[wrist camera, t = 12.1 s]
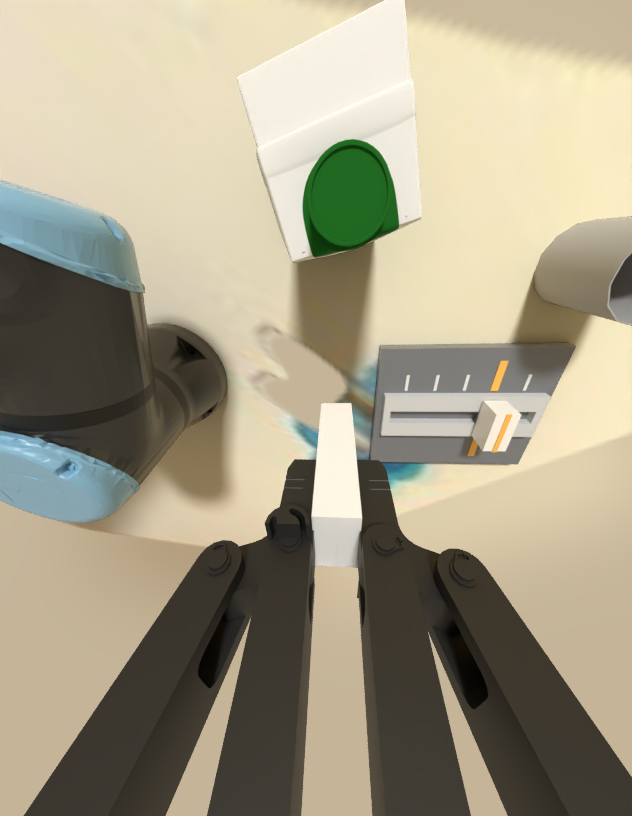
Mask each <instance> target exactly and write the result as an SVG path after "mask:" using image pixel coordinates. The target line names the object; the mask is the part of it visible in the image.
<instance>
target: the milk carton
mask: <svg viewBox="0 0 632 816" xmlns="http://www.w3.org/2000/svg"><path fill="white" fill-rule="evenodd" d="M237 81H238V85H239V88H240V91H241V95H242V98H243V102H244V105H245V108H246V112H247V115H248V118H249V121H250V125H251V128H252V131H253V135H254V138H255V141H256V145H257V148H258V149H257V150H256V154H257V160H258V164H259V167H260V170H261V174H262V177H263V180H264V183H265V186H266V188H267V191H268V194H269V197H270V200H271V204H272V207H273V210H274V213H275V216H276V219H277V223H278V226H279V229H280V232H281V234H282V237H283V240H284V243H285V245H286V248H287V251H288V253H289V256H290V258H291V260H292V261H293V262H294V263H295V262H300V261H305V260H310V259H315V258H320V257H325V256H330V255H335V254H339V253H343V252H347V251H350V250H353V249H356V248H359V247H361V246H363V245H365V244H368V243H370V242H372V241H375V240H377V239H379V238H381V237H383V236H385V235H387V234H389V233H391V232H394V231H396V230H398V229H400V228H402V227H404V226H406V225H409V224H411V223H413V222H415V221H417V220H419V219H420V218H421V216H422V207H421V191H420V176H419V161H418V146H417V131H416V104H415V90H414V81H413V79H411V76H410V63H409V50H408V37H407V24H406V12H405V0H384V1H383V2H381V3H379V4H377V5H375V6H373V7H371V8H369V9H367V10H365V11H363V12H361V13H359V14H358V15H356V16H354V17H352V18H350V19H348V20H346V21H344V22H342V23H340V24H338V25H336V26H334V27H332V28H331V29H329V30H327V31H325V32H323V33H321V34H319V35H317V36H315V37H313V38H311V39H309V40H307V41H306V42H304V43H302V44H300V45H298V46H296V47H294V48H292V49H290V50H288V51H286V52H284V53H282V54H280V55H279V56H277V57H275V58H273V59H271V60H269V61H267V62H265V63H263V64H261V65H259V66H257V67H255V68H254V69H252V70H250V71H248V72H246V73H244V74H242V75H240V76H238V77H237Z"/></svg>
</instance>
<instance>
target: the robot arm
mask: <svg viewBox="0 0 632 816" xmlns="http://www.w3.org/2000/svg"><path fill="white" fill-rule="evenodd" d="M143 293H145V287H144V285H143V284H142V283H141V279H140V274H139V269H138V264H137V259H136V254H135V249H134V245H133V242H132V240H131V237H130V236H129V234H128V233H127V231H126V230H125V229H124V228H123V226H122V225H121V224H119V223H118V222H117V221H116V220H114V219H113V218H111V217H110V216H108V215H106V214H104V213H101V212H98V211H96V210H93V209H90V208H87V207H84V206H81V205H78V204H75V203H72V202H69V201H66V200H63V199H60V198H57V197H54V196H50V195H47V194H44V193H41V192H38V191H34V190H31V189H28V188H25V187H22V186H19V185H16V184H12V183H9V182H6V181H3V180H0V501H2V502H4V503H7V504H9V505H11V506H13V507H16V508H18V509H21V510H23V511H26V512H29V513H32V514H35V515H38V516H42V517H46V518H49V519H54V520H59V521H66V522H77V523H84V522H93V521H98V520H100V519H103V518H105V517H108V516H110V515H112V514H113V513H115V512H116V511H117V510H118V509H119V508H120V507H121V506H122V505H123V504H124V503H125V502H126V501H127V500H128V499H129V498H130V497H131V496H132V495H133V494H134V493H136V492H137V491H138V489H139V488H140V484H141V483H142V482H143V481H144V479H145V478H146V477H147V476H148V474H149V473H150V472H151V471H152V469H153V468H154V467H155V465H156V464H157V463H158V462H159V460H160V459H161V458H162V457H163V455H164V454H165V453H166V452H167V450H168V449H169V448H170V447H171V445H172V444H173V443H174V442H175V440H176V439H177V438H178V437H179V435H180V434H181V433H182V432H183V430H184V429H185V428H187V427H189V426H191V425H193V424H195V423H197V422H199V421H201V420H203V419H205V418H206V417H208V416H209V415H211V414H212V413H213V412H214V411H215V410H216V408H217V407H218V406H219V404H220V403H221V401H222V400H223V398H224V396H225V393H226V388H227V379H226V373H225V370H224V367H223V365H222V363H221V361H220V359H219V357H218V356H217V354H216V353H215V351H214V350H213V349H212V348H211V347H210V346H209V345H208V344H207V343H206V342H205V341H204V340H203V339H201V338H200V337H199V336H197V335H196V334H194V333H193V332H191V331H189V330H187V329H184V328H182V327H179V326H175V325H171V324H152V325H148V326H147V321H146V314H145V306H144V298H143ZM265 526H266V531H267V536H266V537H264V538H263V539H261V540H259V541H256V542H253V543H250V544H246V545H243V546H238V545H237V544H236V543H234V542H232V541H225V540H223V541H219V542H215V543H213V544H212V545H210V546H209V547H207V548H206V549H205V550H204V551H203V552H202V553H201V554H200V556H199V557H198V559H197V560H196V562H195V563H194V564H193V566H192V567H191V569H190V570H189V572H188V573H187V575H186V576H185V578H184V579H183V581H182V582H181V584H180V585H179V587H178V588H177V590H176V591H175V593H174V594H173V596H172V597H171V598H170V600H169V601H168V603H167V605H166V606H165V607H164V609H163V610H162V612H161V613H160V615H159V616H158V618H157V619H156V621H155V622H154V624H153V625H152V627H151V628H150V630H149V631H148V632H147V634H146V635H145V637H144V638H143V640H142V641H141V643H140V644H139V646H138V647H137V649H136V650H135V652H134V653H133V655H132V656H131V658H130V659H129V661H128V662H127V664H126V665H125V667H124V668H123V670H122V671H121V673H120V674H119V675H118V677H117V679H116V680H115V681H114V683H113V684H112V686H111V687H110V689H109V690H108V692H107V693H106V695H105V696H104V698H103V699H102V701H101V702H100V704H99V705H98V707H97V708H96V710H95V711H94V712H93V714H92V716H91V717H90V718H89V720H88V721H87V723H86V724H85V726H84V727H83V729H82V730H81V732H80V733H79V735H78V736H77V738H76V739H75V741H74V742H73V744H72V745H71V747H70V748H69V750H68V751H67V752H66V754H65V755H64V757H63V758H62V760H61V762H60V763H59V764H58V766H57V767H56V769H55V770H54V772H53V773H52V775H51V776H50V778H49V779H48V781H47V782H46V784H45V785H44V786H43V788H42V790H41V791H40V792H39V794H38V796H37V797H36V798H35V800H34V801H33V803H32V804H31V806H30V807H29V809H28V810H27V812H26V813H25V815H24V816H165V815H166V813H167V811H168V808H169V806H170V804H171V801H172V799H173V797H174V794H175V792H176V790H177V787H178V785H179V783H180V780H181V778H182V776H183V773H184V771H185V769H186V766H187V764H188V762H189V760H190V757H191V755H192V753H193V750H194V748H195V746H196V743H197V741H198V739H199V736H200V734H201V731H202V729H203V727H204V725H205V722H206V720H207V718H208V715H209V713H210V710H211V708H212V706H213V704H214V701H215V699H216V697H217V694H218V692H219V690H220V687H221V685H222V683H223V680H224V678H225V676H226V674H227V671H228V669H229V666H230V664H231V662H232V659H233V657H234V655H235V652H236V650H237V648H238V645H239V643H240V641H241V639H242V636H243V634H244V632H245V629H246V627H247V625H248V622H249V620H250V618H251V621H250V625H249V630H248V634H247V639H246V643H245V648H244V652H243V657H242V661H241V666H240V670H239V675H238V679H237V684H236V688H235V693H234V697H233V702H232V706H231V711H230V715H229V720H228V724H227V729H226V733H225V738H224V742H223V746H222V751H221V756H220V760H219V764H218V769H217V773H216V778H215V783H214V787H213V791H212V796H211V801H210V805H209V809H208V814H207V816H301V808H302V790H303V774H304V757H305V739H306V723H307V706H308V689H309V672H310V655H311V638H312V621H313V603H314V587H315V585H314V570H315V566H332V567H356V568H358V571H359V584H358V594H357V598H359V607H360V624H361V639H362V656H363V670H364V686H365V703H366V719H367V735H368V751H369V767H370V782H371V798H372V814H373V816H471V814H470V810H469V806H468V802H467V797H466V793H465V789H464V784H463V780H462V776H461V771H460V767H459V763H458V759H457V755H456V750H455V746H454V742H453V737H452V733H451V729H450V724H449V720H448V716H447V712H446V707H445V704H444V700H443V695H442V690H441V686H440V682H439V678H438V673H437V669H436V665H435V660H434V656H433V652H432V648H431V643H430V639H429V635H428V632H429V634H430V637H431V639H432V641H433V644H434V646H435V648H436V651H437V653H438V655H439V657H440V660H441V662H442V664H443V667H444V669H445V671H446V674H447V676H448V678H449V681H450V683H451V685H452V688H453V690H454V692H455V694H456V697H457V699H458V701H459V703H460V706H461V708H462V711H463V713H464V715H465V718H466V720H467V722H468V724H469V727H470V729H471V732H472V734H473V736H474V738H475V741H476V743H477V745H478V747H479V750H480V752H481V755H482V757H483V759H484V762H485V764H486V766H487V768H488V771H489V773H490V775H491V778H492V780H493V782H494V784H495V787H496V789H497V791H498V794H499V796H500V799H501V801H502V803H503V805H504V808H505V810H506V812H507V815H508V816H632V777H631V776H630V774H629V773H628V771H627V770H626V768H625V767H624V766H623V764H622V763H621V761H620V760H619V758H618V757H617V755H616V754H615V753H614V751H613V750H612V748H611V747H610V745H609V744H608V743H607V741H606V740H605V738H604V737H603V735H602V734H601V733H600V731H599V730H598V728H597V727H596V725H595V724H594V722H593V721H592V720H591V718H590V717H589V715H588V714H587V712H586V711H585V710H584V708H583V707H582V705H581V704H580V702H579V701H578V700H577V698H576V697H575V695H574V694H573V692H572V691H571V689H570V688H569V687H568V685H567V684H566V682H565V681H564V679H563V678H562V677H561V675H560V674H559V672H558V671H557V669H556V668H555V666H554V665H553V664H552V662H551V661H550V659H549V658H548V656H547V655H546V654H545V652H544V651H543V649H542V648H541V646H540V645H539V643H538V642H537V641H536V639H535V638H534V636H533V635H532V634H531V632H530V631H529V629H528V628H527V626H526V625H525V623H524V622H523V620H522V619H521V618H520V616H519V615H518V613H517V612H516V611H515V609H514V608H513V606H512V605H511V603H510V602H509V600H508V599H507V598H506V596H505V595H504V593H503V592H502V590H501V589H500V587H499V586H498V585H497V583H496V582H495V580H494V579H493V577H492V576H491V575H490V573H489V572H488V570H487V569H486V568H485V566H484V565H483V564H482V563H481V562H480V561H479V560H478V559H477V558H476V557H474V556H473V555H471V554H470V553H468V552H466V551H463V550H460V549H447V550H445V551H443V552H442V553H441V554H438V553H435V552H432V551H429V550H427V549H424V548H421V547H419V546H417V545H415V544H413V543H412V542H411V541H409V540H408V539H407V538H406V537H405V536H404V535H403V533H402V532H401V530H400V528H399V526H398V522H397V517H396V512H395V508H394V503H393V499H392V494H391V491H390V485H389V482H388V476H387V472H386V469H385V467H384V466H383V465H382V463H381V462H380V461H379V460H357V458H356V448H355V438H354V427H353V417H352V406H351V403H321V414H320V425H319V436H318V448H317V459H316V460H296V459H295V460H294V461H293V462H292V464H291V465H290V466H289V468H288V471H287V476H286V481H285V485H284V490H283V495H282V500H281V504H280V507H279V508H277V509H275V510H274V511H273V512H272V513H271V514H270V515H269V516H268V517H267V520H266V522H265ZM251 615H252V616H251Z"/></svg>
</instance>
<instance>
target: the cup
mask: <svg viewBox="0 0 632 816" xmlns="http://www.w3.org/2000/svg"><path fill="white" fill-rule="evenodd" d="M534 287H535V290H536V292H537V293H538V295H539V296H540V297H541V299H542V300H544V301H547V302H550V303H554V304H557V305H560V306H564V307H568V308H571V309H575V310H578V311H582V312H585V313H589V314H592V315H596V316H599V317H603V318H606V319H610V320H613V321H617V322H620V323H624V324H627V325H631V326H632V216H631V217H619V218H607V219H597V220H592V221H587V222H583V223H578V224H576V225H574V226H573V227H571V228H570V229H568V230H566V231H565V232H563V233H562V234H560V235H559V236H557V237H556V238H555V239H554V241H553V242H552V243H551V244H550V245H549V246H548V248H547V249H546V250H545V251H544V252H543V253H542V255H541V257H540V260H539V262H538V265H537V267H536V270H535V272H534Z"/></svg>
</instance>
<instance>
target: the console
mask: <svg viewBox="0 0 632 816" xmlns="http://www.w3.org/2000/svg"><path fill="white" fill-rule="evenodd" d="M575 347H576V346H574V345H571V344H569V343H505V344H433V345H380V349H379V360H378V370H377V381H376V392H375V403H374V413H373V424H372V435H371V445H370V460H379V461H380V462H416V463H474V464H518V463H519V461H520V459H521V457H522V455H523V453H524V451H525V449H526V447H527V445H528V443H529V441H530V439H531V437H532V435H533V433H534V431H535V429H536V427H537V425H538V423H539V421H540V419H541V417H542V415H543V413H544V411H545V409H546V407H547V405H548V403H549V401H550V399H551V396H552V394H553V392H554V390H555V388H556V386H557V384H558V382H559V380H560V378H561V376H562V374H563V372H564V370H565V368H566V366H567V364H568V362H569V360H570V358H571V356H572V354H573V352H574V350H575ZM483 401H507V402H508V403H509V404H511V405H512V406H513V407H514V408H515V409H516V410H517V411H518V412H519V413H520V414H521V418H520V420H519V422H518V424H517V427H516V429H515V431H514V433H513V436H512V438H511V440H510V442H509V445H508V447H507V449H506V451H497V452H491V451H482V450H481V448H480V447H479V445H478V444H477V443H476V441H475V440H474V438H473V437H472V433H473V430H474V427H475V424H476V421H477V418H476V415H477V412H480V409H481V407H482V404H483Z"/></svg>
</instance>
